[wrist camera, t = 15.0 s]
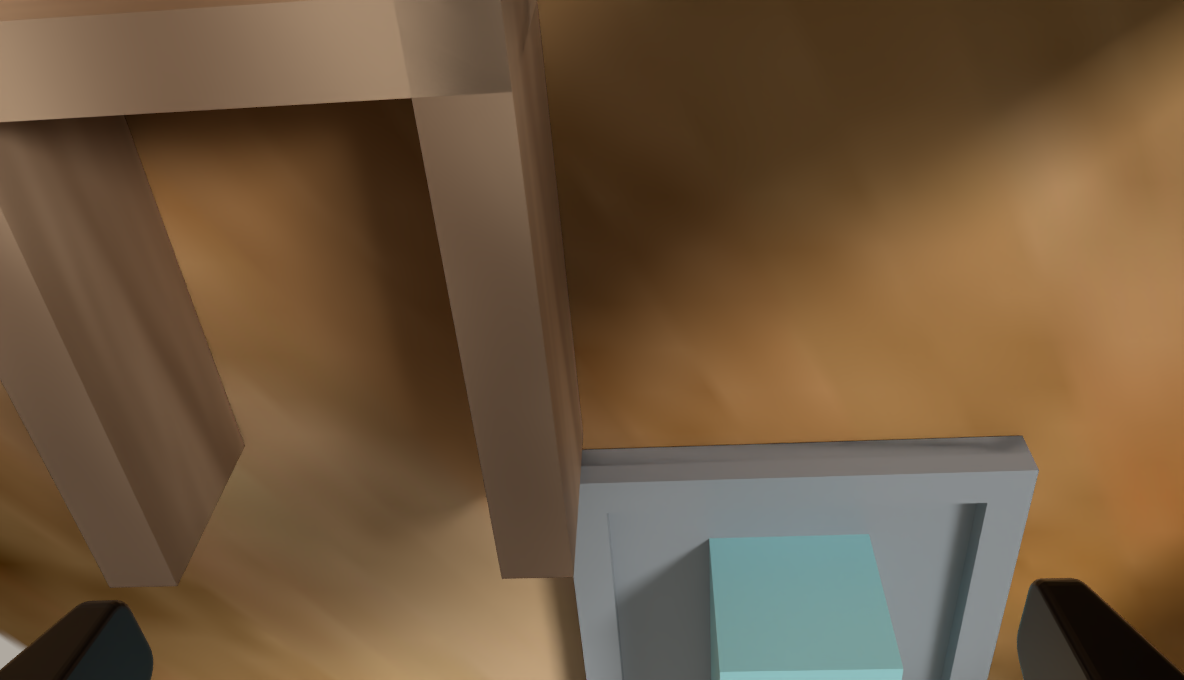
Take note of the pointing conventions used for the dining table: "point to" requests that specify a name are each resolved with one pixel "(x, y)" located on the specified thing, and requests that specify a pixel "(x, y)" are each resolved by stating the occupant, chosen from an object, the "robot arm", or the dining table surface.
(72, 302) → the bay
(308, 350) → the dining table surface
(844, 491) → the tray
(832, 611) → the block
